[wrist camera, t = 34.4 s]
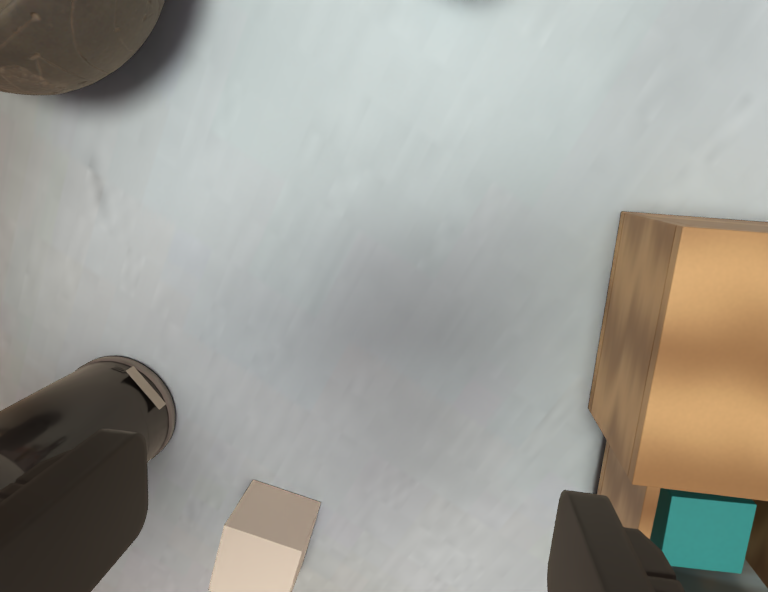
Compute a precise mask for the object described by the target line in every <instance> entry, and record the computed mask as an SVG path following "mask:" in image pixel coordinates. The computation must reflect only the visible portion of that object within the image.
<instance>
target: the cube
mask: <svg viewBox="0 0 768 592" xmlns="http://www.w3.org/2000/svg"><path fill="white" fill-rule="evenodd" d="M756 507H757V504H756V503H755V502H754V501H753V500H752V499H746V498H737V497H729V496H721V495H713V494H705V493H697V492H688V491H680V490H672V489H664V488H661V489H660V494H659V498H658V503H657V508H656V513H655V517H654V522H653V527H652V532H651V536H650V540H651V541H652V542H653V543H654V544H655V545H656V546H657V547H658V548H659V549H661V550H662V551H663V553H664V555H665V557H666V558H667V560H668V562H669V564H670V565H671V566H676V567H685V568H694V569H702V570H711V571H720V572H729V573H738V574H741V573H742V569H743V564H744V560H745V556H746V551H747V547H748V542H749V538H750V533H751V529H752V525H753V520H754V516H755V511H756Z"/></svg>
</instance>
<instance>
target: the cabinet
mask: <svg viewBox="0 0 768 592" xmlns="http://www.w3.org/2000/svg"><path fill="white" fill-rule="evenodd" d="M588 409H589V411H590V412H591V414H592V416H593V417H594V419H595V421H596V423H597V424H598V426H599V428H600V430H601V431H602V433H603V435H604V436H605V438H606V440H607V442H608V443H609V445H610V447H611V449H612V450H613V452H614V454H615V455H616V457H617V459H618V461H619V462H620V464H621V466H622V468H623V469H624V471H625V473H626V474H627V476H628V478H629V480H630V482H631V484H632V485H639V486H648V487H656V488H664V489H672V490H680V491H688V492H697V493H705V494H713V495H721V496H729V497H737V498H746V499H754V500H762V501H768V222H759V221H745V220H732V219H718V218H705V217H692V216H678V215H665V214H651V213H638V212H624V211H622V212H621V217H620V223H619V229H618V235H617V240H616V246H615V252H614V258H613V264H612V270H611V276H610V282H609V288H608V294H607V299H606V305H605V311H604V317H603V323H602V329H601V335H600V341H599V347H598V353H597V359H596V364H595V370H594V376H593V382H592V388H591V394H590V400H589V406H588Z"/></svg>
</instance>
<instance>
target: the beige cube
mask: <svg viewBox="0 0 768 592" xmlns="http://www.w3.org/2000/svg"><path fill="white" fill-rule="evenodd" d="M320 504H321V502H318V501H316V500H313V499H310V498H307V497H304V496H301V495H298V494H295V493H292V492H289V491H286V490H283V489H280V488H277V487H274V486H271V485H268V484H265V483H262V482H259V481H256V480H253V481H252V482H251V484H250V486H249V487H248V489H247V490H246V492H245V493H244V495H243V497H242V498H241V500H240V501H239V503H238V504H237V506H236V508H235V509H234V511H233V512H232V514H231V515H230V517H229V519H228V520H227V522H226V523H225V525H224V529H223V533H222V537H221V541H220V545H219V549H218V553H217V557H216V561H215V565H214V569H213V573H212V577H211V581H210V585H209V589H208V590H209V591H212V592H292V590H293V588H294V585H295V582H296V580H297V577H298V574H299V572H300V569H301V566H302V564H303V561H304V558H305V554H306V551H307V548H308V544H309V541H310V538H311V534H312V531H313V528H314V524H315V521H316V518H317V514H318V511H319V508H320Z"/></svg>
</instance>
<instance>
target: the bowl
mask: <svg viewBox="0 0 768 592" xmlns="http://www.w3.org/2000/svg"><path fill="white" fill-rule="evenodd" d="M164 2H165V0H0V91H2V92H8V93H15V94H24V95H55V94H62V93H66V92H69V91H73V90H76V89H80V88H83V87H86V86H88V85H91V84H93V83H95V82H97V81H99V80H101V79H102V78H104V77H106V76H108V75H109V74H110V73H112V72H114V71H115V70H117V69H118V68H119V67H120V66H122V65H123V64H124V63H125V62H127V61H128V60H129V59H130V58H131V57H132V56H133V55H134V54H135V53H136V52H137V50H138V49H139V48H140V47H141V46H142V45H143V43H144V42H145V40H146V39H147V38H148V36H149V35H150V33H151V32H152V30H153V28H154V26H155V25H156V23H157V20H158V18H159V16H160V13H161V10H162V8H163V5H164Z"/></svg>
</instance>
